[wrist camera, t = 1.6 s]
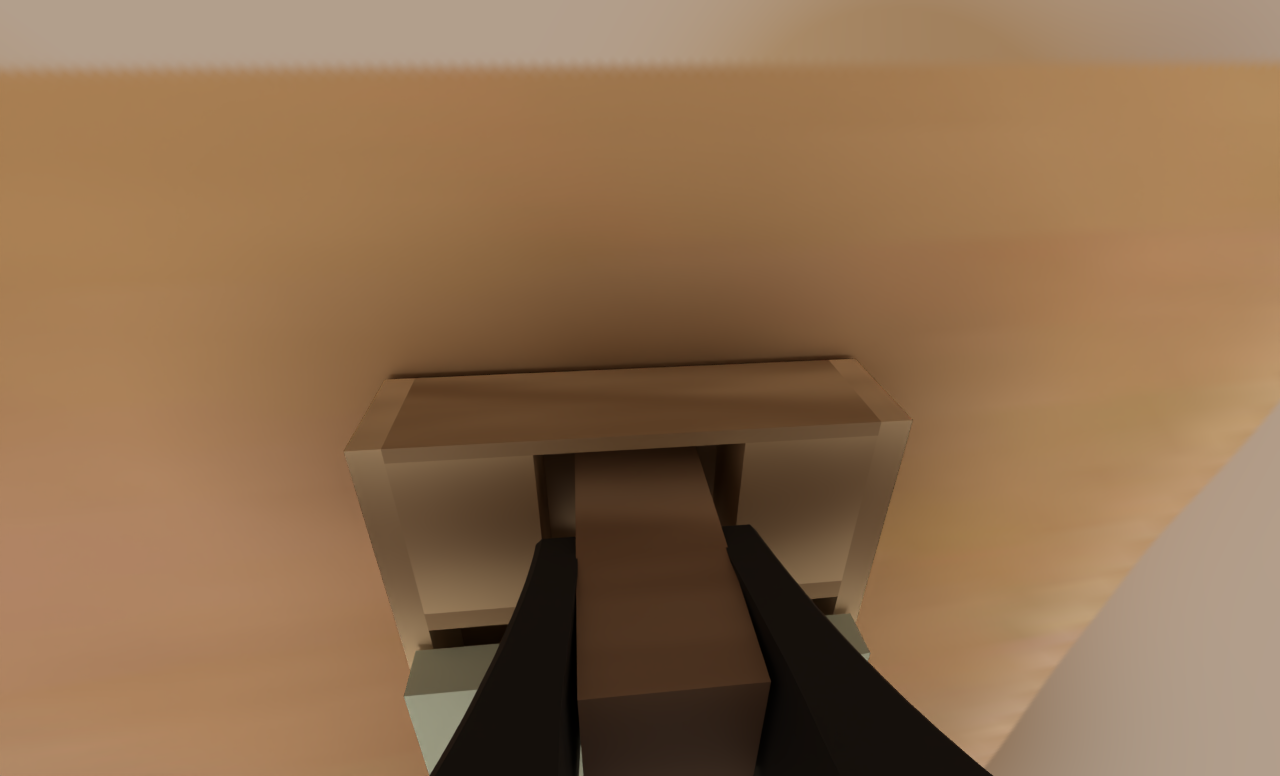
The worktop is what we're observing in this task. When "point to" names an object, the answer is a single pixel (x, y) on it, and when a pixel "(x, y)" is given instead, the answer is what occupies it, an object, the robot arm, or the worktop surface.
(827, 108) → the worktop surface
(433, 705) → the lid
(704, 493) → the dark brown rectangular block
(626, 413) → the shallow wooden tray
